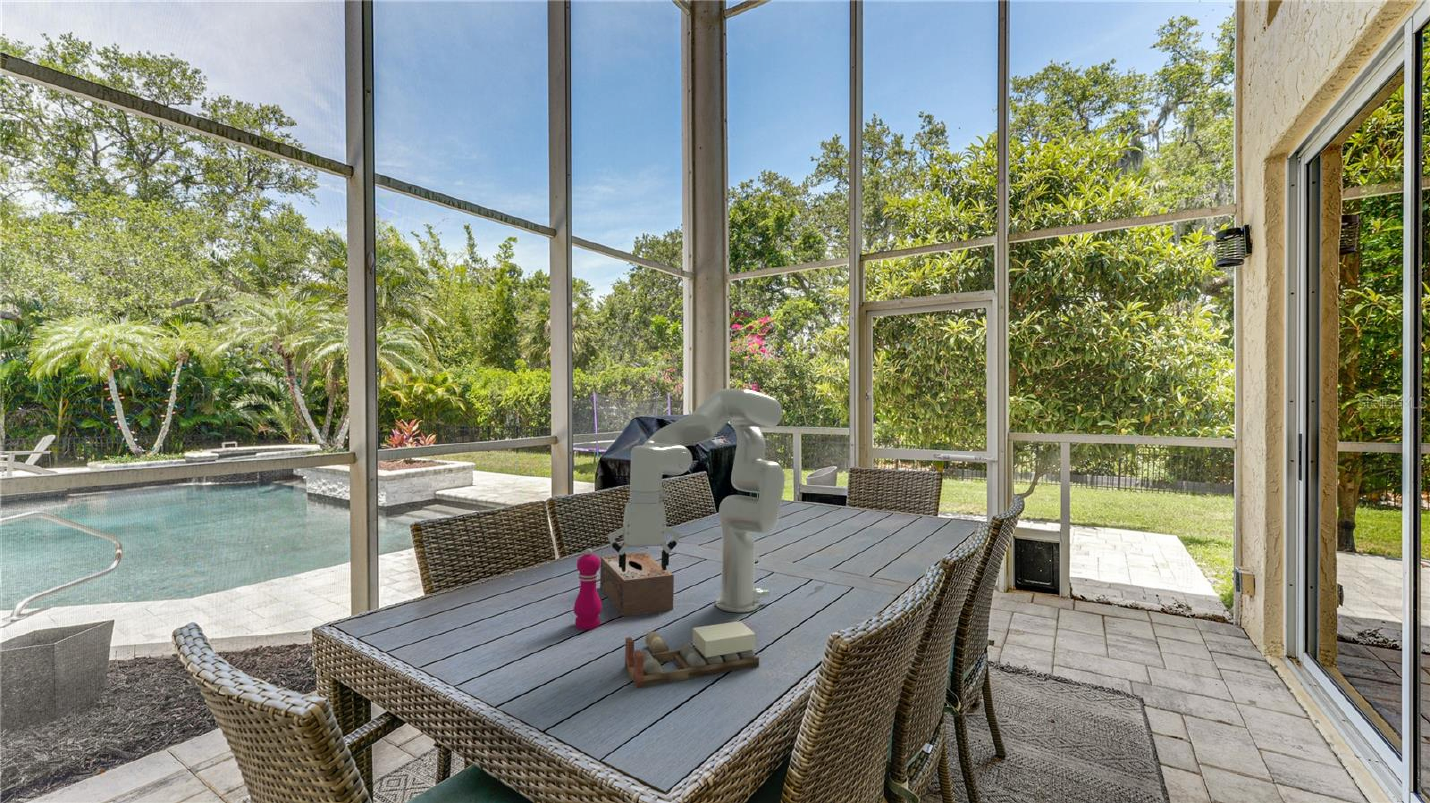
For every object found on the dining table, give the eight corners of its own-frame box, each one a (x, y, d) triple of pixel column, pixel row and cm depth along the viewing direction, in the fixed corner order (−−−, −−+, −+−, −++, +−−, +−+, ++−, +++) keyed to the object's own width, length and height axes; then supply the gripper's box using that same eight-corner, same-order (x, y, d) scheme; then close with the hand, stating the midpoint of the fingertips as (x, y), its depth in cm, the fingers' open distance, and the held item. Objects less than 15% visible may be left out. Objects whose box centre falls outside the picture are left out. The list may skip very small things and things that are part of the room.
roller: (645, 647, 143) (645, 632, 143) (659, 644, 144) (659, 630, 144) (653, 659, 137) (654, 643, 137) (668, 656, 138) (668, 641, 138)
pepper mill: (595, 631, 151) (596, 552, 151) (568, 628, 153) (569, 550, 153) (606, 621, 158) (607, 545, 158) (580, 618, 160) (581, 544, 160)
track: (739, 648, 143) (740, 621, 143) (758, 666, 134) (759, 637, 134) (625, 667, 132) (625, 637, 132) (637, 687, 123) (637, 656, 123)
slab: (739, 635, 142) (740, 621, 142) (755, 649, 134) (755, 633, 134) (692, 643, 137) (692, 627, 137) (705, 657, 130) (706, 641, 130)
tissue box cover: (600, 588, 186) (600, 556, 186) (644, 583, 192) (645, 552, 192) (623, 617, 162) (623, 580, 162) (673, 610, 168) (673, 574, 168)
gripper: (678, 494, 148) (676, 563, 148) (607, 495, 144) (605, 566, 144) (684, 499, 141) (682, 572, 141) (610, 500, 137) (607, 575, 137)
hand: (643, 569), depth 142 cm, fingers open, 9 cm apart
